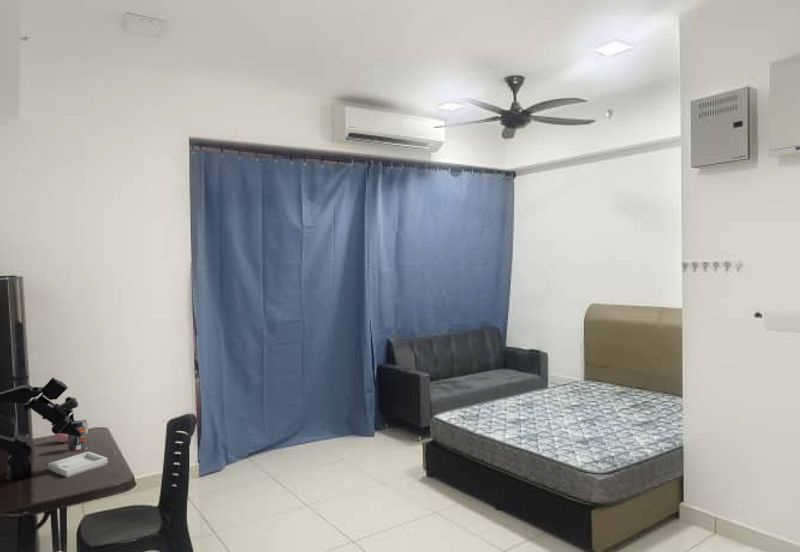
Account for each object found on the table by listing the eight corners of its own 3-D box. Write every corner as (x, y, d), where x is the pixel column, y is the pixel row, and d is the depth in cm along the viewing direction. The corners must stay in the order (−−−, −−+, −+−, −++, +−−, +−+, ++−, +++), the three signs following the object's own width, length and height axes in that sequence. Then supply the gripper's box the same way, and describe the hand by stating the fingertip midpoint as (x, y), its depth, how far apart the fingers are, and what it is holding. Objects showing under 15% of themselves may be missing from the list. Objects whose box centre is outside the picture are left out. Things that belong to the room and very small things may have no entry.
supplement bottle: (83, 452, 209) (82, 423, 209) (66, 453, 208) (65, 424, 208) (88, 447, 215) (87, 419, 215) (71, 448, 214) (70, 420, 213)
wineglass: (78, 452, 229) (76, 424, 228) (71, 450, 232) (69, 422, 232) (92, 448, 234) (90, 420, 233) (84, 446, 237) (83, 419, 236)
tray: (67, 477, 201) (66, 470, 201) (48, 469, 210) (48, 463, 210) (107, 464, 214) (107, 458, 214) (88, 457, 222) (88, 451, 222)
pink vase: (76, 438, 248) (74, 412, 248) (74, 442, 242) (73, 416, 241) (56, 441, 245) (54, 414, 245) (54, 446, 238) (52, 419, 238)
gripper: (61, 397, 201) (96, 422, 206) (65, 387, 217) (98, 411, 223) (36, 421, 197) (72, 446, 203) (43, 409, 214) (76, 433, 219)
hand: (80, 433), depth 212 cm, fingers closed on supplement bottle, 6 cm apart
